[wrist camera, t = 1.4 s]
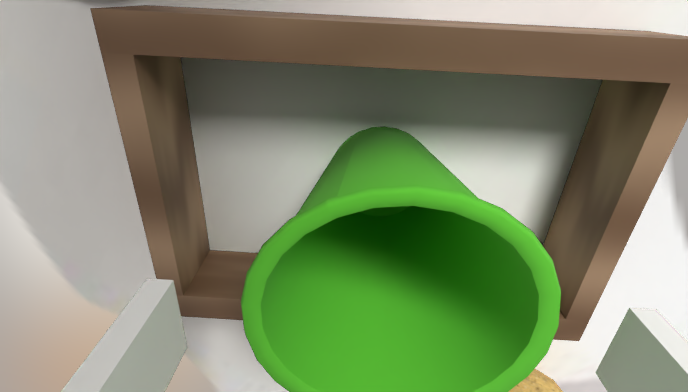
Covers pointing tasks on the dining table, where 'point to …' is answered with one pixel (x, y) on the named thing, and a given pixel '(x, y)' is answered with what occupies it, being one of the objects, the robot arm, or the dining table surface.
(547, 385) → the potato
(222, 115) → the dining table surface
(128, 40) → the pocket frame
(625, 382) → the robot arm
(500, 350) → the cup
